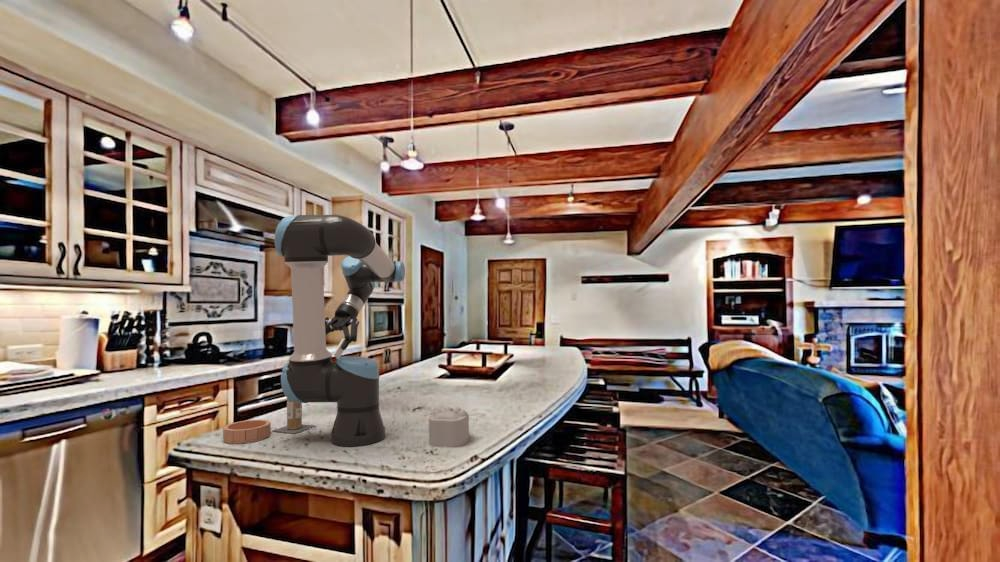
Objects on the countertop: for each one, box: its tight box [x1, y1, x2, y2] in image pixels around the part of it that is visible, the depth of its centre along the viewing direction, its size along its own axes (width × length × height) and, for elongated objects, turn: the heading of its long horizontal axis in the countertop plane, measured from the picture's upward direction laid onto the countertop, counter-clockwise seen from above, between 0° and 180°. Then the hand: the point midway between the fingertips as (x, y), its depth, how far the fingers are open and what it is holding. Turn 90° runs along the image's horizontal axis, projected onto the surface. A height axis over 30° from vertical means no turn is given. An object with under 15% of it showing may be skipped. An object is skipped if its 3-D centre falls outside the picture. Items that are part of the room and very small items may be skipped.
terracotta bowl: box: [222, 419, 272, 445], centre depth 139 cm, size 12×12×4 cm
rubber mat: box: [271, 423, 316, 435], centre depth 148 cm, size 9×9×1 cm
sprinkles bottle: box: [286, 397, 303, 430], centre depth 148 cm, size 5×5×13 cm
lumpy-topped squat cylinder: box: [428, 406, 470, 448], centre depth 135 cm, size 10×13×9 cm
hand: (319, 355), depth 159 cm, fingers open, 13 cm apart
